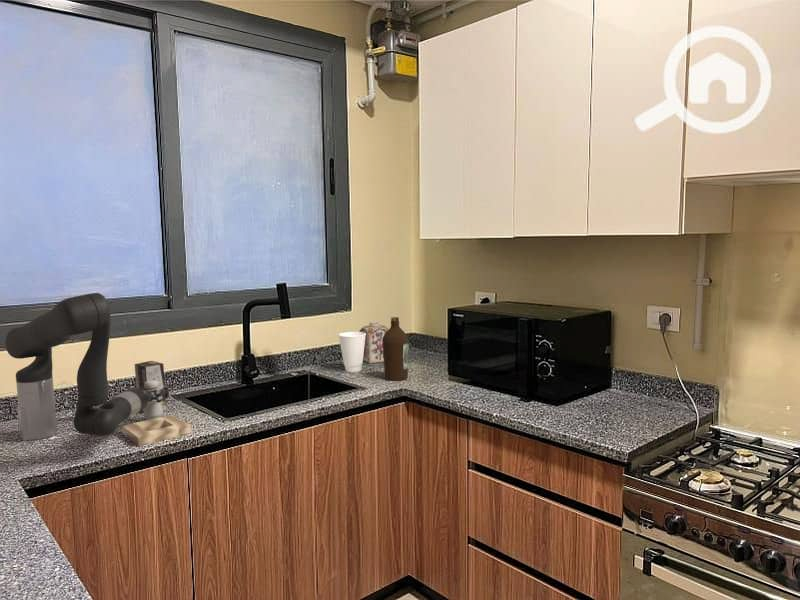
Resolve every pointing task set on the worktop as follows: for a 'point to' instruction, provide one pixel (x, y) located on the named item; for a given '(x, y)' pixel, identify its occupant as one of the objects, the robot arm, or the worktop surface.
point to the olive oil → (395, 352)
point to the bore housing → (156, 429)
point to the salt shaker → (152, 407)
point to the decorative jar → (373, 342)
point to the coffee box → (150, 376)
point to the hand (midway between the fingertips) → (154, 389)
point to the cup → (352, 350)
